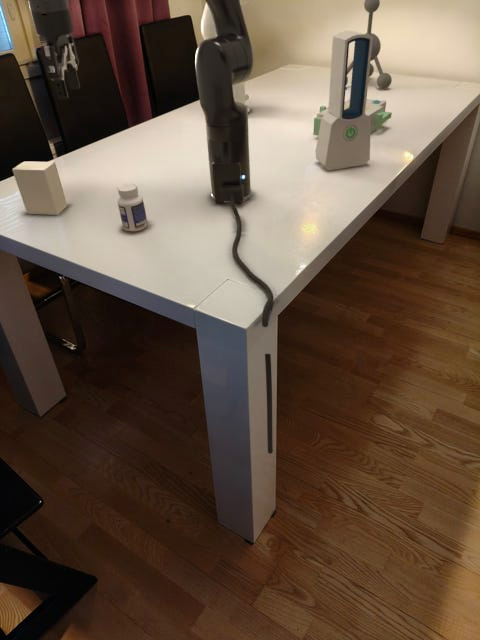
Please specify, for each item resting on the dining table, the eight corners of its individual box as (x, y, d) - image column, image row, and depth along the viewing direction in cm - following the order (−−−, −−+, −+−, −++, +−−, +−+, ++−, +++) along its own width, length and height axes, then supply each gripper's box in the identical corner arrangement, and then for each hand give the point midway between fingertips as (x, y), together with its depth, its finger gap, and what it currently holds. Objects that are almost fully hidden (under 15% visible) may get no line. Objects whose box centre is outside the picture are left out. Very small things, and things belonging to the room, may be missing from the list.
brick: (38, 204, 117) (23, 161, 111) (67, 205, 116) (55, 161, 109) (27, 213, 113) (11, 169, 107) (57, 215, 112) (44, 170, 105)
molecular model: (320, 82, 200) (324, -5, 182) (368, 76, 205) (377, -10, 186) (347, 95, 182) (354, 0, 164) (399, 88, 187) (412, -5, 168)
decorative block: (340, 93, 160) (399, 100, 150) (339, 114, 164) (396, 122, 154) (301, 113, 144) (364, 122, 134) (300, 136, 148) (362, 146, 138)
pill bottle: (149, 220, 107) (142, 181, 102) (146, 231, 103) (138, 191, 98) (125, 221, 107) (116, 182, 102) (121, 232, 103) (112, 193, 98)
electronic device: (325, 171, 125) (333, 37, 106) (314, 161, 130) (320, 32, 112) (369, 164, 127) (385, 32, 108) (356, 155, 133) (369, 28, 114)
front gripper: (43, 3, 104) (63, 86, 114) (17, 12, 92) (41, 103, 103) (78, 2, 103) (94, 85, 113) (56, 11, 92) (76, 102, 102)
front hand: (69, 93), depth 108 cm, fingers open, 8 cm apart
